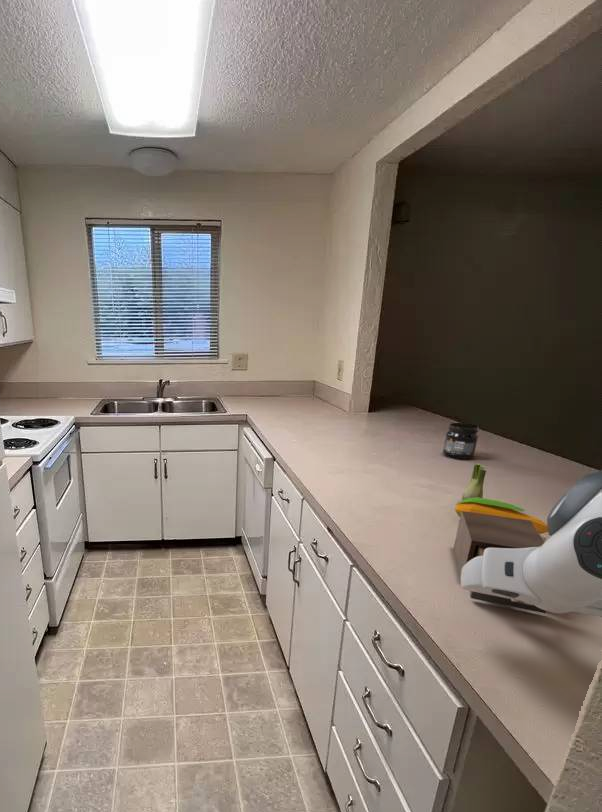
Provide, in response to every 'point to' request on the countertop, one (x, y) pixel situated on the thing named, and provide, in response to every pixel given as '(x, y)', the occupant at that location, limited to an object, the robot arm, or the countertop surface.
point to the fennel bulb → (475, 483)
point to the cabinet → (492, 535)
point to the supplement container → (460, 441)
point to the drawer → (495, 599)
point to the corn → (497, 511)
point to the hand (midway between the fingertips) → (521, 598)
